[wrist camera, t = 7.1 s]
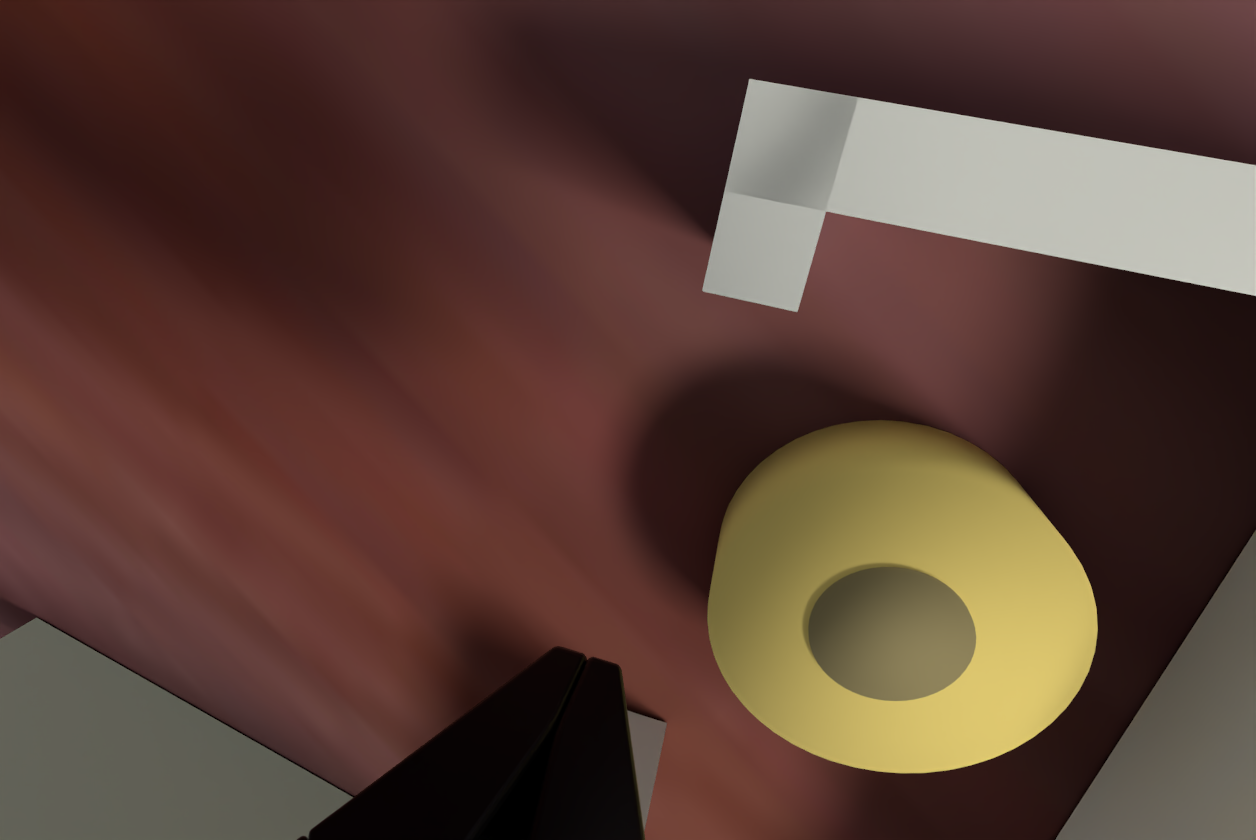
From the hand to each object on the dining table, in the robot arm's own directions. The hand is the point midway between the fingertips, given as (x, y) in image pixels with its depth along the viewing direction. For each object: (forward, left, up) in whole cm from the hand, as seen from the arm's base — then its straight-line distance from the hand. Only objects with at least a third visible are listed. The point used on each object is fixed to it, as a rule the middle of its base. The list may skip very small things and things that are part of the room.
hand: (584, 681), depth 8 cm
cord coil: (0, -4, -5) cm, 6 cm away
